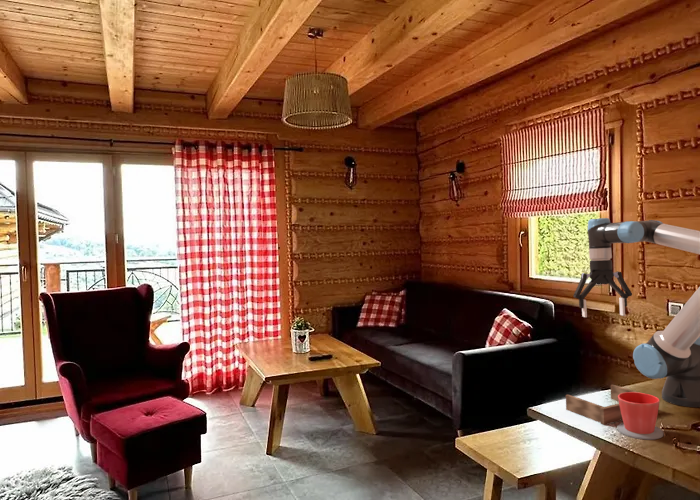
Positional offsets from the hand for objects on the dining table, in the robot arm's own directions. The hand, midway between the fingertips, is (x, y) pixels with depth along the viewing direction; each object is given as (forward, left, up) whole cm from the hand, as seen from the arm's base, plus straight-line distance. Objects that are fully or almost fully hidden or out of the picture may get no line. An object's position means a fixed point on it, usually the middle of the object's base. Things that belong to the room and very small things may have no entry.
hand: (603, 316), depth 188 cm
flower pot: (+4, +39, -28) cm, 48 cm away
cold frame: (+6, +21, -28) cm, 36 cm away
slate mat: (+4, +39, -28) cm, 48 cm away
